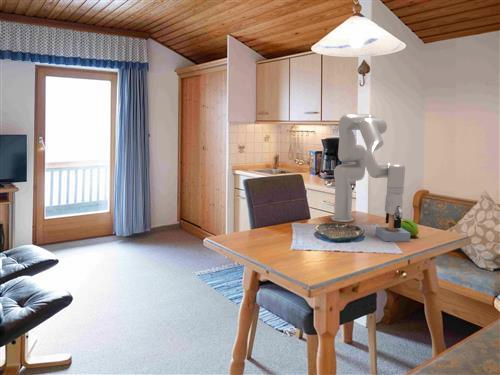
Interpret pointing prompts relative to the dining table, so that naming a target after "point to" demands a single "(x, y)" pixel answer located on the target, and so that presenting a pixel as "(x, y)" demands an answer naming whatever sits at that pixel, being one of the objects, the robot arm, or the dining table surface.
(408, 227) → the corn
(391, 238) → the socket block
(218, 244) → the dining table surface
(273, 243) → the dining table surface
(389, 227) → the peg
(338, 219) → the robot arm
